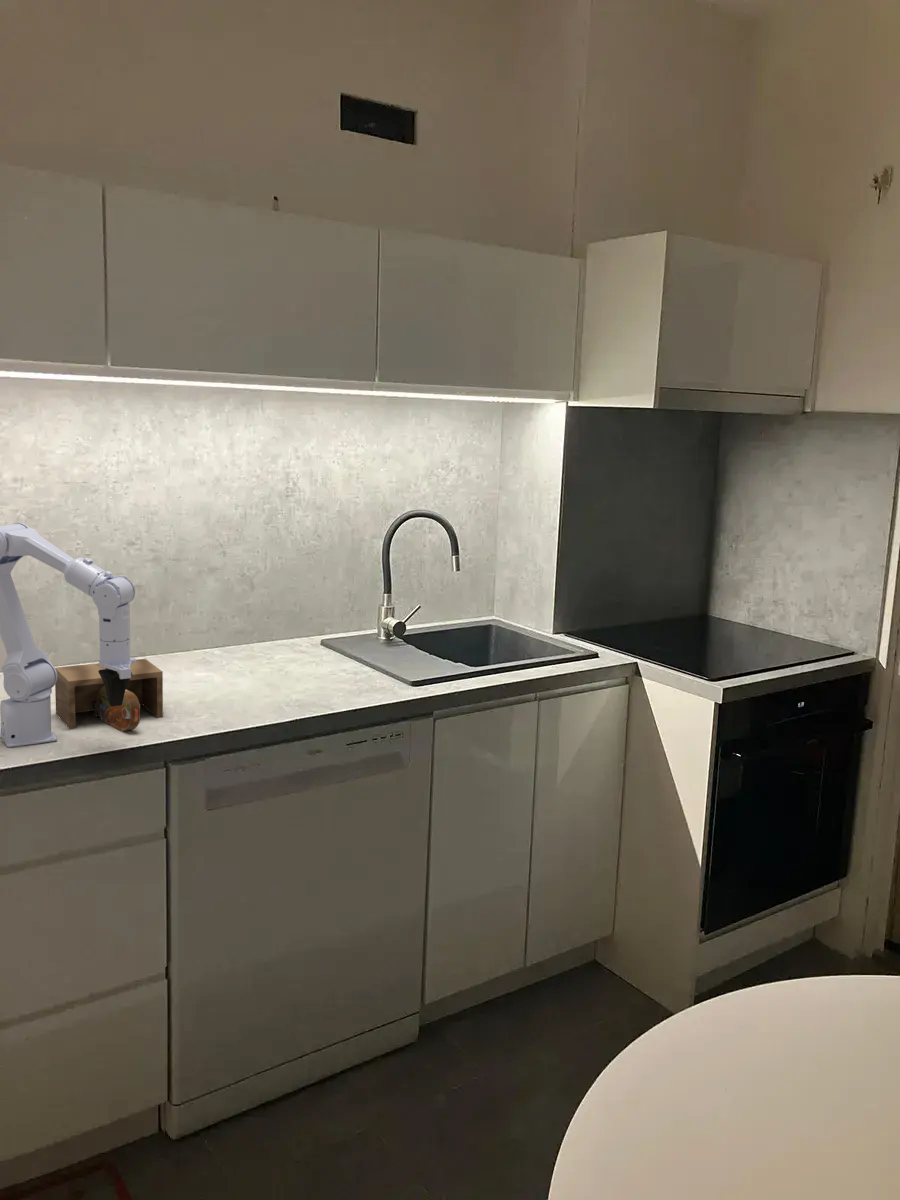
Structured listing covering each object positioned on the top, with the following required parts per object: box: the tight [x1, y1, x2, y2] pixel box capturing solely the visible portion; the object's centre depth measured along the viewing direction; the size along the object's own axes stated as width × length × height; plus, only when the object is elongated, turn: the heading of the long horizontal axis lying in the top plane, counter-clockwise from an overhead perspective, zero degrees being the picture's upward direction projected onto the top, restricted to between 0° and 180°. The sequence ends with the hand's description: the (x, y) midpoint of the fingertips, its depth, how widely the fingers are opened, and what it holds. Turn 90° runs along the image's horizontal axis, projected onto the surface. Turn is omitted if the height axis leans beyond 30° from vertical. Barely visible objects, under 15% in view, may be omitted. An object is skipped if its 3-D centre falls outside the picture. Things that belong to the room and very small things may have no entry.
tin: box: [97, 685, 141, 732], centre depth 217 cm, size 15×3×8 cm, turn 45°
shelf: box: [54, 658, 164, 730], centre depth 223 cm, size 20×12×10 cm, turn 124°
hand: (115, 705), depth 201 cm, fingers closed
